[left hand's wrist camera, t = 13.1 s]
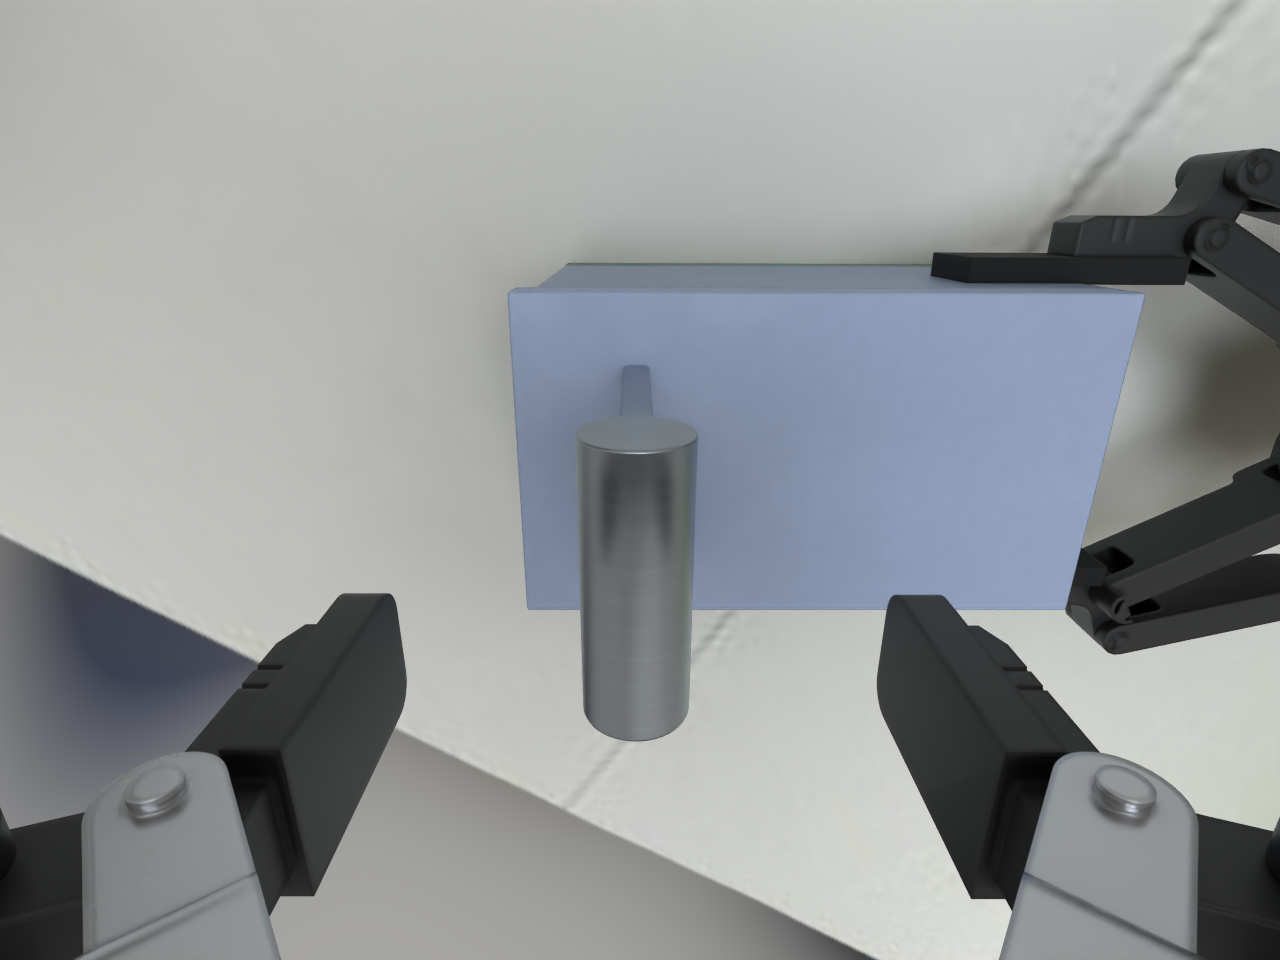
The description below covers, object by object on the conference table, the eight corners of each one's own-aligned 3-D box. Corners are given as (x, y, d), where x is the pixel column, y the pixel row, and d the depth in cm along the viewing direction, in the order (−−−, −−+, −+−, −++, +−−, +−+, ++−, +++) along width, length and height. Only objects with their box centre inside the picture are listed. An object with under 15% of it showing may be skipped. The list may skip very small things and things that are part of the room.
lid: (532, 591, 22) (471, 811, 14) (514, 287, 19) (421, 343, 11) (1045, 591, 23) (1282, 810, 14) (1117, 289, 19) (1482, 345, 11)
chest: (575, 481, 32) (550, 590, 23) (568, 263, 28) (536, 286, 19) (927, 482, 32) (1044, 591, 23) (962, 264, 28) (1117, 288, 19)
